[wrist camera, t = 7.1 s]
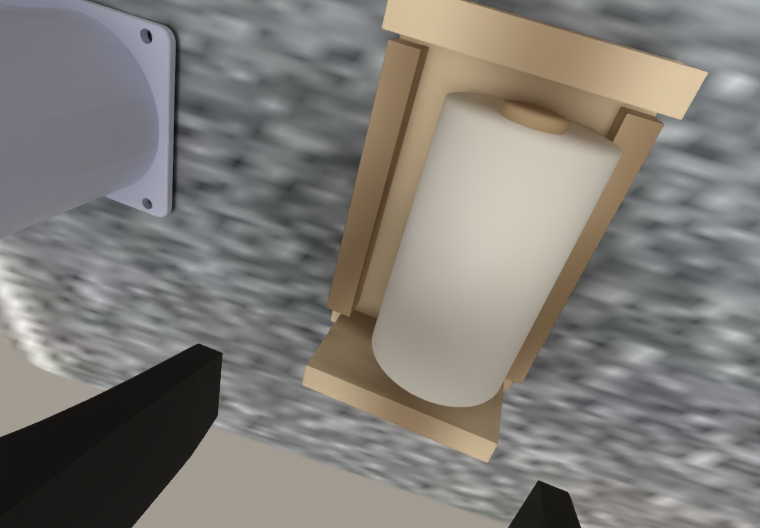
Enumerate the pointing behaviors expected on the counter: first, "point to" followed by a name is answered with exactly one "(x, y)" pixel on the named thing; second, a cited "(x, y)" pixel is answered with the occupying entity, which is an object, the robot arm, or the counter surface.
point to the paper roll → (485, 243)
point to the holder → (408, 156)
